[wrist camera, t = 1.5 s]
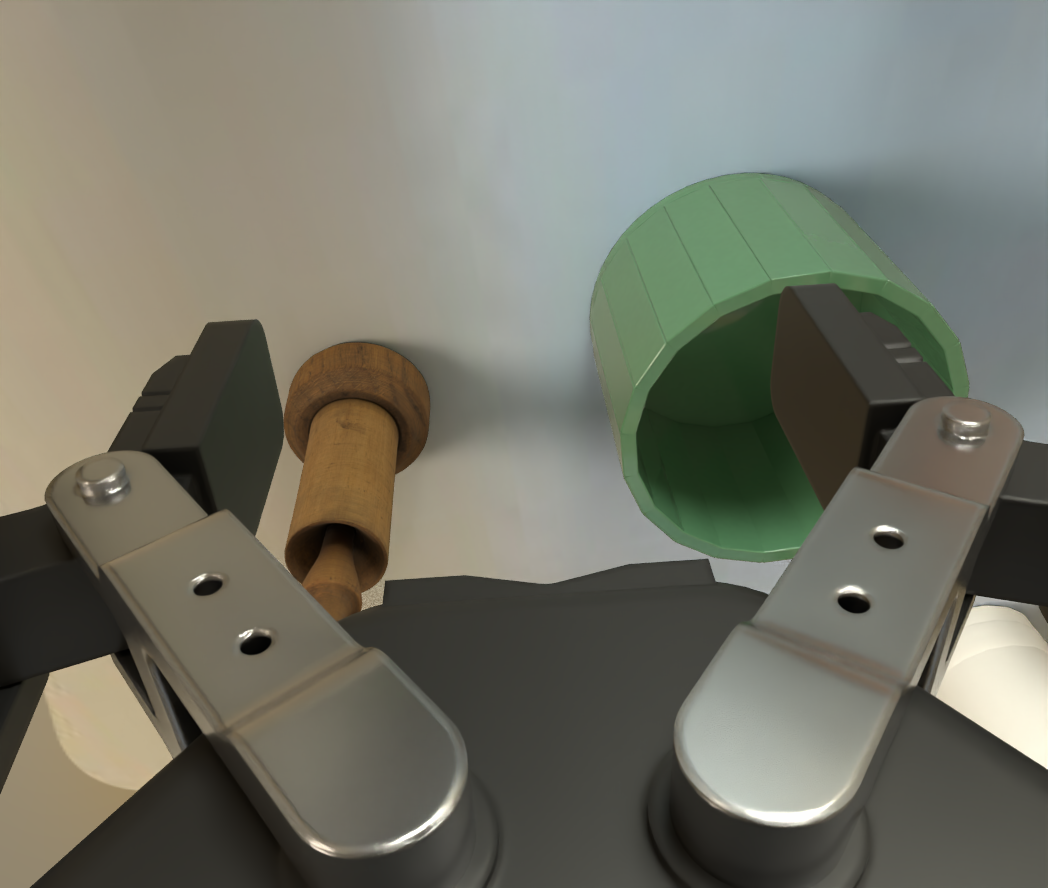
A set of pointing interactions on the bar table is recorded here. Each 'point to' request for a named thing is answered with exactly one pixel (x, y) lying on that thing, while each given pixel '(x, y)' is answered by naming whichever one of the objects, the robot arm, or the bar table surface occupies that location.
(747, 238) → the cup
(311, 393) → the brown knobbed turned figurine
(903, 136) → the bar table surface
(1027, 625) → the bottle
